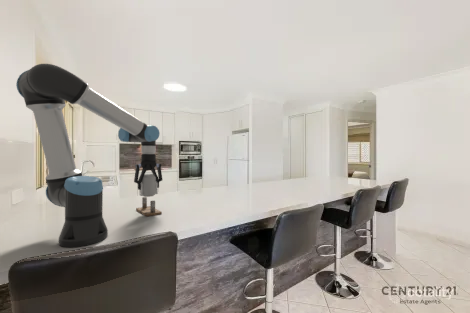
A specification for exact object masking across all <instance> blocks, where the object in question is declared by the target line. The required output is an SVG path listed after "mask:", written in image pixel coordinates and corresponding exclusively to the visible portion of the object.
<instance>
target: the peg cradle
mask: <svg viewBox="0 0 470 313" xmlns="http://www.w3.org/2000/svg"><path fill="white" fill-rule="evenodd" d="M141 198H142V199H141V202H142V203H141V204H142V207H136V209H135V210H136V212H138V213H140V214H142V215H143V216H144V217H146V218H147V217H152V216H157V215H158V216H159V215H162V211H161V210H159V209H157V208H156V200H150V205H148V203H147V202H148V197H144V196H141Z"/></svg>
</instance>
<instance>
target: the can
mask: <svg viewBox="0 0 470 313" xmlns="http://www.w3.org/2000/svg"><path fill="white" fill-rule="evenodd" d="M141 183H142V184H143V196H142V197H147V198H148V197H154V196H155V195H157V194H156V177H155V176H154V174H153V173H145V175H144V177H143V180H142V182H141Z"/></svg>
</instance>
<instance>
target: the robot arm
mask: <svg viewBox="0 0 470 313" xmlns="http://www.w3.org/2000/svg"><path fill="white" fill-rule="evenodd" d="M16 89H17V92H18V94H19V95H20V96H21V97H22V98H23V100H24V103H25V107H26V109H27V108H28V109H29V110H31V111H32V113H33V116H34V119H35V124H36V128H37V130H38V135H39V139H40V143H41V147H42V150H43V151H42V152H43V154H44V158H45V161H46V165H47V169H48V172H49V173H48V175H47V176H46V177H45V181H46V185H47V186H46V187H45V196H46V198H47V199H48V201H49V202H50V203H52V204H53V205H55V206H58V207H61V208H64V223H63V226H62V228H61V232H60V234H59V236H58V246H60V247H62V248H79V247H85V246H88V245H92V244H96V243H99V242H101V241H103V240H105V239H106V238H108V236H109V234H108V233H109V232H108V231H109V230H108V226H107V225H106V224H107V223H105V219H104V217H103V216H104V215H103V205H104V204H103V195H104V194H103V190H104V186H103V180H102V179H101V178H99V177H96V176H92V175H91V176H89V175H83V173H82V171H81V170H80V169H78V168H77V166H76V162H75V158H74V155H73V151H72V145H71V141H70V137H69V133H68V129H67V124H66V121H65V116H64V112H63V109H64V108H65V107H66V105H67V104H66V102H68V103H70V104H71V105H79V106H80V107H82V108H84V109H85V110H88V111H89V112H91V113H93V114H95V115H97V116H98V117H100V118H102V119H104V120H105V121H108V122H110V123H111V124H113V125H114V126H117V127H118V128H119V130H118V132H117V134H118V135H117V137H118V139H119V141H121V142H123V143H139V144H141V145H140V146H141V149H140V150H141V151H140V153H141V156H140V158H141V159H140V160H141V162H140V163H137V164H135V165H134V166H135V172H134V179H133V182H134V183H135V184H137V190H139V196H140V197H144V196H143V184H142V183H141V182H142V180H143V177H144V175H145V174H146V172H147V171H151V174H154V176H155V177H156V194H155V195H158V194H159V193H158V189H159V188H160V182H163V174H162V164H161V163H158V162H156V158H157V156H156V155H157V150H156V148H157V147H156V143H157V140H158V139H159V138H160V129H159V128H158V127H157V126H156V125H154V124H153V125H152V124H149V125H148V124H147V123H145V122H143V121H142V120H140V119H139V118H137V117H136V116H134V115H133V114H131V113H130V112H128V111H126V110H125V109H123V108H122V107H120V106H118V105H117V104H116V103H115V102H113V101H111V100H109V99H108V98H106V97H105V96H103V95H102V94H100V93H99V92H97V91H95V90H94V89H93V88H91V87H90V86H89V83H88V82H87V81H85V80H83V79H81V78H80V77H79V76H77V75H76V74H74V73H72V72H70V71H69V70H67V69H65V68H62V67H61V66H58V65H55V64H52V63H39V64H36V65H34V66H32V67H31V68H29V69H27V70H24V72H22V73H21V74H19V75H18V78H17V79H16ZM140 168H142V169H141V173H140ZM155 168H156V169H157V170H156V169H155Z"/></svg>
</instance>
